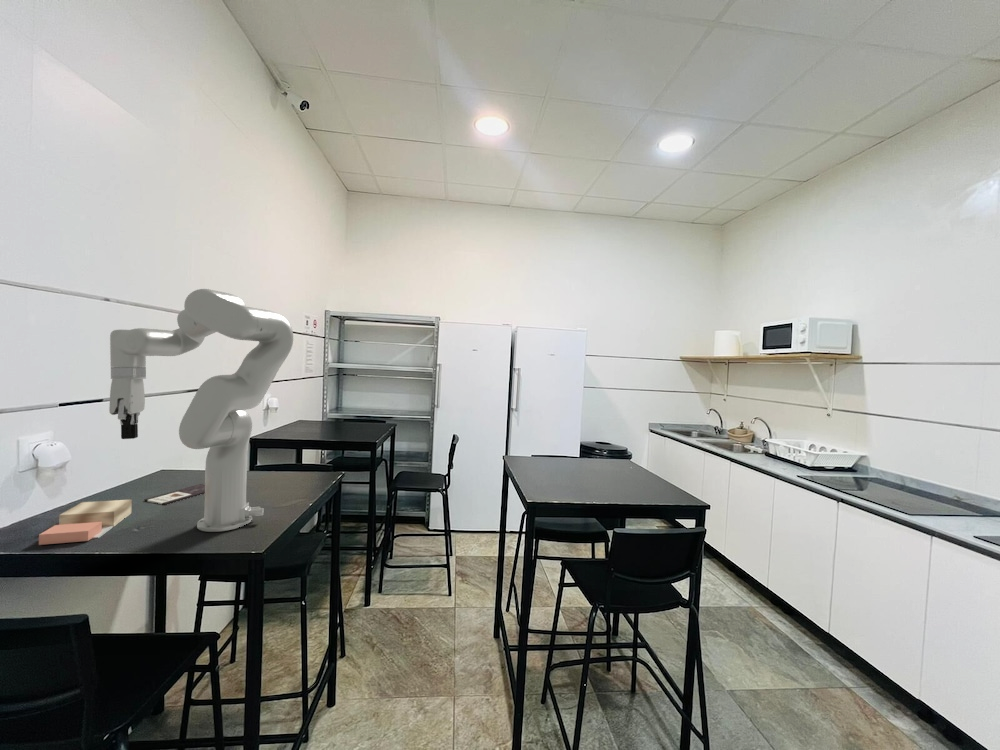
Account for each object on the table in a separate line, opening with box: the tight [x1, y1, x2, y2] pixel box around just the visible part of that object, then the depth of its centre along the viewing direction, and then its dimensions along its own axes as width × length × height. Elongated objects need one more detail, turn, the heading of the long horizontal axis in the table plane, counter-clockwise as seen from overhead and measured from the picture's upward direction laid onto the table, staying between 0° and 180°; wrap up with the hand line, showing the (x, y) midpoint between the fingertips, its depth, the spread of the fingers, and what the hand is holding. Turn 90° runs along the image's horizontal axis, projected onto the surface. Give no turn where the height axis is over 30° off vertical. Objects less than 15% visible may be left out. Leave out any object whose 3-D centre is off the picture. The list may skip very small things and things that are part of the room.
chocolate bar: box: [144, 483, 205, 506], centre depth 138 cm, size 9×1×18 cm
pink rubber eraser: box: [38, 522, 102, 546], centre depth 103 cm, size 9×6×2 cm, turn 110°
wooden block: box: [58, 498, 133, 528], centre depth 114 cm, size 11×10×4 cm
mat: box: [90, 526, 114, 540], centre depth 105 cm, size 11×7×1 cm, turn 111°
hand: (129, 438), depth 121 cm, fingers closed
